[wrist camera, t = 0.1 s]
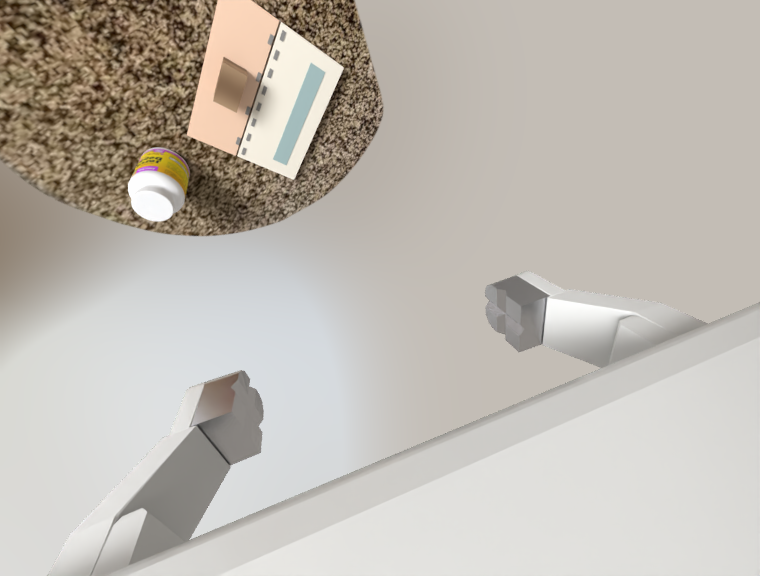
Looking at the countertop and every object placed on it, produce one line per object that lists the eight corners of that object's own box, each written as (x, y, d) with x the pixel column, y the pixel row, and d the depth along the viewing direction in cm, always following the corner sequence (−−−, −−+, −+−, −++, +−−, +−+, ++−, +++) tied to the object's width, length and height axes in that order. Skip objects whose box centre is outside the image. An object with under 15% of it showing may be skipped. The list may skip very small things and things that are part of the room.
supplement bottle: (167, 138, 47) (154, 175, 38) (199, 175, 52) (193, 214, 43) (129, 157, 47) (108, 198, 38) (165, 192, 52) (153, 234, 44)
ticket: (279, 20, 42) (281, 22, 41) (341, 65, 48) (344, 68, 46) (237, 152, 51) (237, 156, 50) (292, 176, 57) (294, 180, 56)
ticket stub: (222, -21, 37) (222, -20, 34) (278, 19, 41) (282, 24, 38) (187, 131, 47) (184, 145, 43) (235, 152, 51) (236, 165, 47)
